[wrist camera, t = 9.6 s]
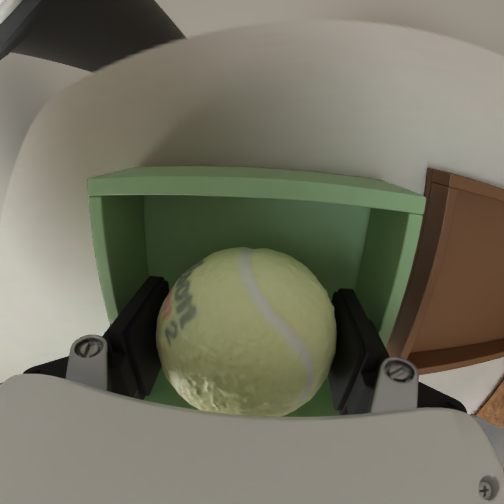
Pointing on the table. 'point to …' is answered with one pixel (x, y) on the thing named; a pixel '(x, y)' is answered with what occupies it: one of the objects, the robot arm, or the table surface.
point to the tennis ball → (247, 333)
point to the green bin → (255, 236)
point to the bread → (494, 408)
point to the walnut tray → (454, 279)
